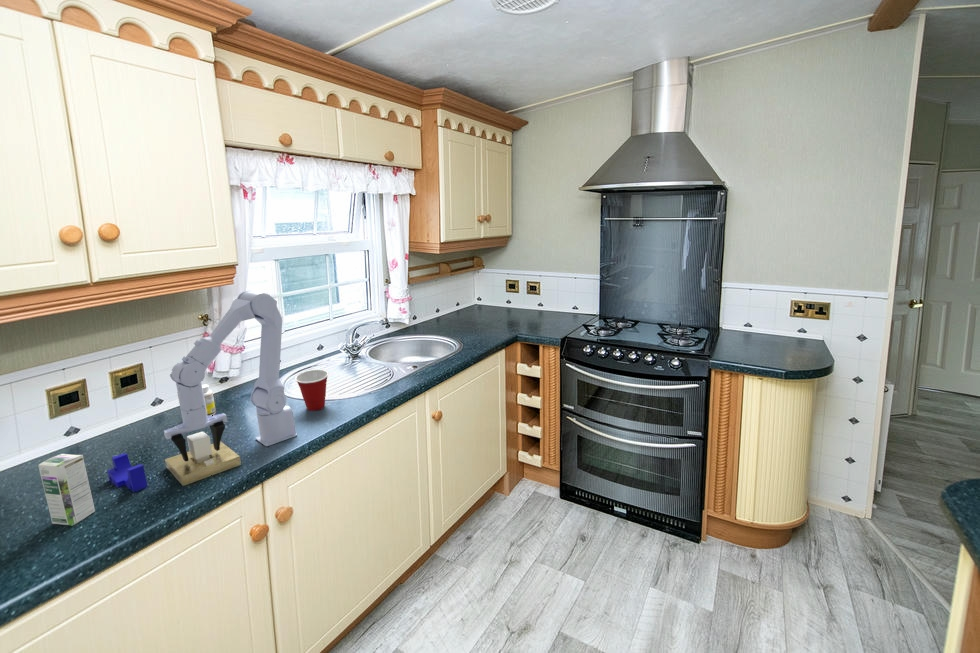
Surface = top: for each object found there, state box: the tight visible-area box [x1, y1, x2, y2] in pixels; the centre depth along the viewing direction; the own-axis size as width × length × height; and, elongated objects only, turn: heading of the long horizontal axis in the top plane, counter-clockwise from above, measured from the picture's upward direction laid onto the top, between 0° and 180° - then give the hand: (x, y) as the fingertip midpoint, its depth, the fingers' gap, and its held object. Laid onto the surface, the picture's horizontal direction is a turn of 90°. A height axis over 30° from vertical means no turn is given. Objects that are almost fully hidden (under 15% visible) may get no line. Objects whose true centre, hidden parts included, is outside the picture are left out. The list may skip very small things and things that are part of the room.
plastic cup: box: [294, 369, 329, 412], centre depth 174 cm, size 11×11×12 cm
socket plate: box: [164, 440, 242, 487], centre depth 137 cm, size 14×14×3 cm
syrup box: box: [37, 453, 96, 527], centre depth 114 cm, size 6×6×14 cm
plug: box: [186, 430, 212, 463], centre depth 137 cm, size 4×5×8 cm
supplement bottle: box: [202, 384, 217, 416], centre depth 171 cm, size 6×6×10 cm
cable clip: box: [106, 452, 148, 493], centre depth 129 cm, size 12×4×6 cm, turn 53°
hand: (201, 454), depth 137 cm, fingers open, 7 cm apart
